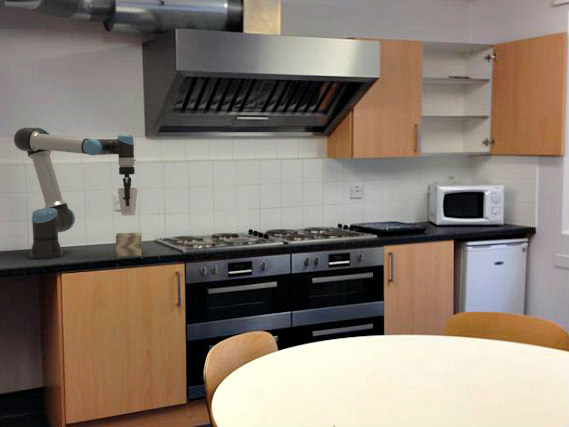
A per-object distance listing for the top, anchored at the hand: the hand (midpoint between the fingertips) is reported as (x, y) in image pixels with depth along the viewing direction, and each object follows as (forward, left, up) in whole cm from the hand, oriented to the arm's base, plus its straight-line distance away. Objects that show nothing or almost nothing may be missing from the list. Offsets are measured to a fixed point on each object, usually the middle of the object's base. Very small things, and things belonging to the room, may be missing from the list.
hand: (128, 211), depth 362 cm
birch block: (0, 0, -21) cm, 21 cm away
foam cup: (0, 0, -2) cm, 2 cm away
